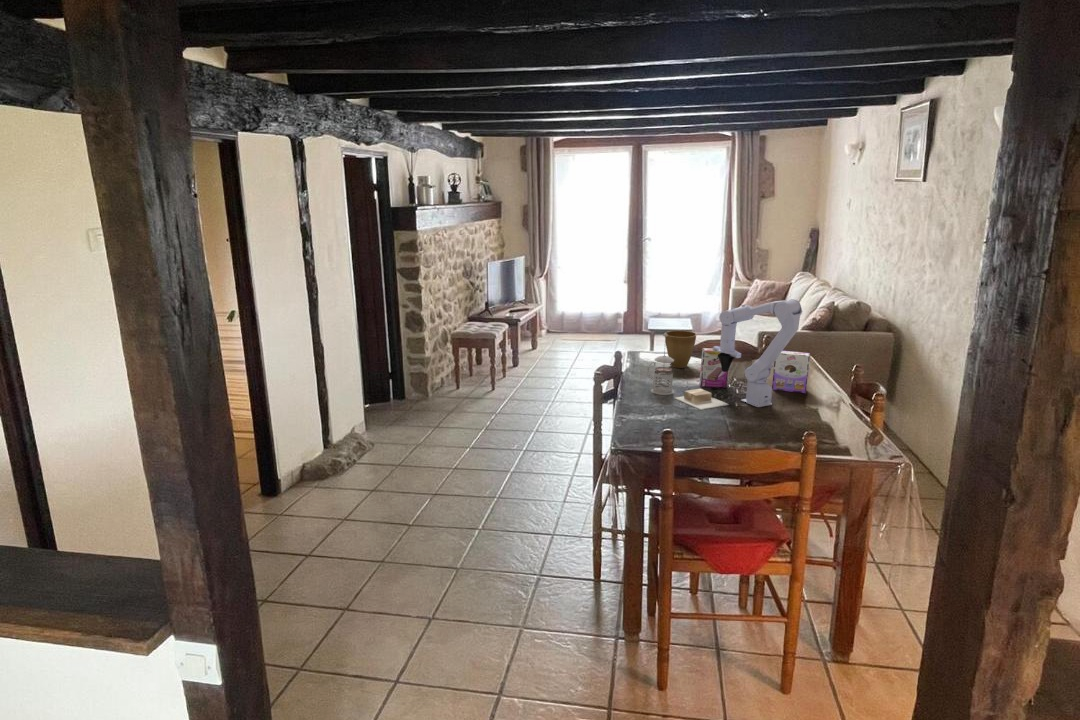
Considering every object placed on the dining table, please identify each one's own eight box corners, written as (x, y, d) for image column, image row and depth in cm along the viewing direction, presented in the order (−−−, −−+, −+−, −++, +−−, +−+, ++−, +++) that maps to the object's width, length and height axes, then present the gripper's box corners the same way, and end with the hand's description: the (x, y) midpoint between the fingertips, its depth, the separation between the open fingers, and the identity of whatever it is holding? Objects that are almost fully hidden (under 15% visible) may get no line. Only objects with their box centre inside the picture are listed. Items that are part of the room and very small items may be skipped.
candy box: (806, 390, 286) (811, 352, 282) (805, 393, 281) (810, 355, 277) (772, 386, 291) (776, 349, 287) (771, 389, 286) (774, 352, 282)
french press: (672, 395, 276) (676, 336, 270) (644, 392, 280) (647, 334, 274) (675, 389, 285) (679, 331, 279) (648, 386, 289) (651, 329, 283)
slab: (711, 393, 269) (700, 388, 275) (695, 395, 266) (684, 390, 272) (711, 400, 270) (699, 395, 276) (695, 402, 266) (684, 397, 272)
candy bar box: (700, 387, 288) (703, 350, 284) (699, 384, 293) (701, 347, 289) (727, 388, 287) (730, 351, 283) (725, 385, 292) (728, 348, 288)
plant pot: (676, 360, 333) (678, 329, 329) (700, 366, 322) (703, 334, 318) (656, 365, 324) (658, 332, 320) (680, 371, 313) (682, 338, 309)
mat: (728, 405, 265) (728, 404, 265) (700, 409, 259) (700, 409, 259) (701, 394, 279) (701, 393, 279) (674, 398, 273) (674, 397, 273)
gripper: (708, 336, 278) (705, 368, 281) (732, 343, 265) (729, 376, 269) (721, 335, 281) (718, 366, 284) (746, 342, 268) (743, 374, 272)
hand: (725, 371), depth 277 cm, fingers closed
